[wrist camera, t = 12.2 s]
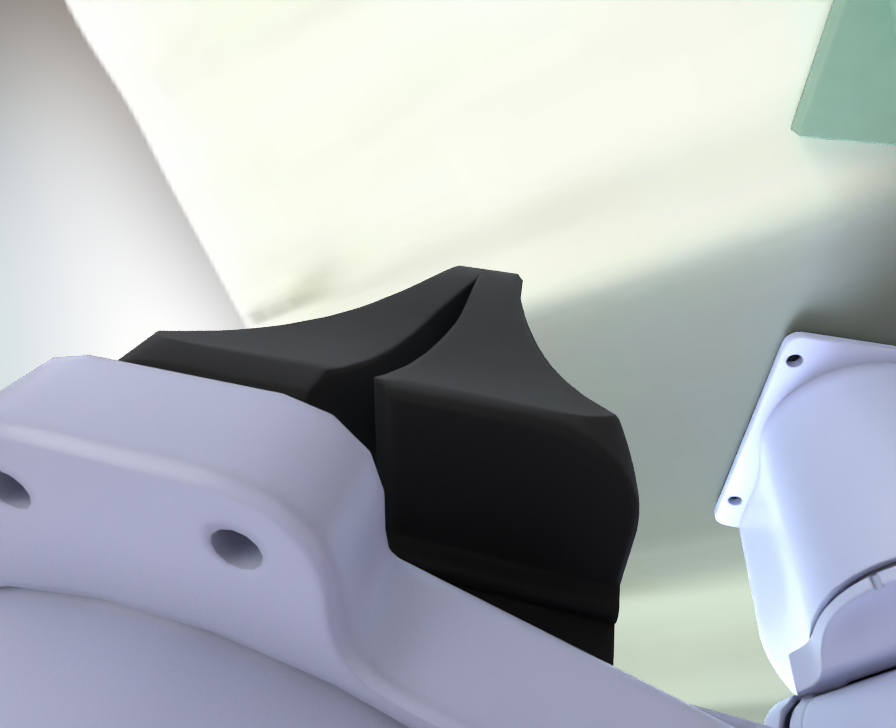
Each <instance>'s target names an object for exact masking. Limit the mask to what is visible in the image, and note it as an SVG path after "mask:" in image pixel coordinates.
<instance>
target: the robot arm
mask: <svg viewBox="0 0 896 728" xmlns="http://www.w3.org/2000/svg"><path fill="white" fill-rule="evenodd" d="M522 282H523V280H522V279H521V278H520V276H519V275H518V274H514V273H507V272H500V271H493V270H486V269H479V268H472V267H465V266H456V267H453V268H451V269H448V270H446V271H444V272H442V273H440V274H437V275H435V276H433V277H431V278H429V279H427V280H425V281H423V282H421V283H419V284H416V285H414V286H412V287H410V288H408V289H406V290H403V291H401V292H399V293H396V294H394V295H391V296H389V297H386V298H384V299H381V300H379V301H376V302H374V303H371V304H369V305H366V306H363V307H360V308H357V309H353V310H350V311H346V312H343V313H339V314H336V315H332V316H328V317H323V318H318V319H313V320H307V321H302V322H297V323H292V324H286V325H279V326H271V327H262V328H252V329H239V330H223V331H158V332H156V333H155V334H154V335H152V336H151V337H149V338H148V339H147V340H145V341H144V342H142V343H141V344H140V345H138V346H137V347H136V348H135V349H133V350H131V351H130V352H129V353H127V354H126V355H125V356H123V357H122V358H121V359H119V360H118V361H117V360H112V359H107V358H102V357H97V356H92V355H82V356H69V357H56V358H52V359H50V360H49V361H47V362H46V363H44V364H42V365H41V366H39V367H38V368H36V369H34V370H33V371H31V372H30V373H28V374H26V375H25V376H23V377H22V378H20V379H18V380H17V381H15V382H14V383H12V384H10V385H9V386H7V387H6V388H4V389H2V390H1V391H0V728H896V346H893V345H886V344H879V343H873V342H866V341H860V340H853V339H846V338H840V337H833V336H826V335H820V334H813V333H806V332H795V333H791V334H789V335H788V336H787V337H785V339H784V340H783V342H782V344H781V346H780V349H779V351H778V354H777V356H776V359H775V361H774V364H773V366H772V369H771V371H770V374H769V376H768V379H767V381H766V383H765V386H764V388H763V391H762V393H761V396H760V398H759V401H758V403H757V406H756V408H755V411H754V413H753V416H752V418H751V421H750V423H749V426H748V428H747V430H746V433H745V435H744V438H743V440H742V443H741V445H740V448H739V450H738V453H737V455H736V458H735V460H734V463H733V465H732V468H731V470H730V472H729V475H728V477H727V480H726V482H725V485H724V487H723V490H722V492H721V495H720V497H719V500H718V502H717V505H716V507H715V511H714V513H715V518H716V520H717V521H718V522H719V523H722V524H724V525H729V526H734V527H738V528H739V530H740V535H741V540H742V545H743V550H744V555H745V561H746V566H747V571H748V576H749V581H750V587H751V592H752V597H753V602H754V607H755V613H756V618H757V623H758V628H759V633H760V638H761V641H762V644H763V647H764V650H765V652H766V654H767V656H768V658H769V660H770V662H771V664H772V665H773V667H774V669H775V670H776V672H777V673H778V675H779V676H780V677H781V679H782V680H783V681H784V683H785V684H786V685H787V686H788V687H789V689H790V690H791V691H792V692H793V693H794V694H795V695H794V696H791V697H788V698H785V699H782V700H780V701H779V702H778V703H776V704H775V705H774V706H773V707H771V709H770V711H769V712H768V714H767V715H766V718H765V721H764V724H760V723H757V722H753V721H750V720H746V719H742V718H739V717H735V716H731V715H728V714H724V713H720V712H717V711H713V710H709V709H706V708H702V707H698V706H695V705H691V704H688V703H686V702H684V701H682V700H680V699H678V698H676V697H674V696H672V695H670V694H668V693H666V692H664V691H662V690H660V689H658V688H656V687H654V686H652V685H650V684H648V683H646V682H644V681H642V680H640V679H638V678H636V677H634V676H632V675H630V674H628V673H626V672H624V671H622V670H620V669H618V668H616V667H614V666H613V658H614V624H615V623H616V621H617V618H618V613H619V595H620V583H621V580H622V576H623V573H624V570H625V567H626V564H627V560H628V557H629V554H630V551H631V548H632V544H633V541H634V538H635V535H636V532H637V526H638V519H639V496H638V489H637V483H636V477H635V472H634V467H633V463H632V459H631V455H630V451H629V448H628V444H627V441H626V438H625V435H624V432H623V429H622V426H621V423H620V420H619V419H618V417H617V416H616V415H615V414H613V413H612V412H610V411H608V410H607V409H605V408H603V407H602V406H600V405H598V404H597V403H595V402H593V401H592V400H590V399H588V398H587V397H585V396H584V395H582V394H581V393H580V392H579V391H577V390H576V389H575V388H574V387H572V386H571V385H570V384H569V383H567V382H566V381H565V380H564V379H563V378H562V377H561V376H560V375H559V374H558V373H557V372H556V371H555V369H554V368H553V367H552V366H551V365H550V364H549V362H548V361H547V360H546V358H545V357H544V355H543V354H542V352H541V350H540V349H539V347H538V345H537V343H536V342H535V340H534V338H533V335H532V333H531V331H530V328H529V326H528V324H527V321H526V318H525V315H524V311H523V307H522V303H521V290H522ZM796 354H798V355H800V357H799V359H798V360H796V361H790V362H789V361H787V360H786V359H787V358H788V357H789V356H791V355H796ZM732 496H738V497H739V498H736V499H731V498H730V497H732Z"/></svg>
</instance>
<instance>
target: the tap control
mask: <svg viewBox="0 0 896 728" xmlns="http://www.w3.org/2000/svg"><path fill="white" fill-rule="evenodd" d="M791 130H793V131H794V132H795V133H796V134H797V135H798V136H800V137H808V138H819V139H830V140H842V141H853V142H864V143H875V144H887V145H896V0H834V1H833V4H832V7H831V10H830V13H829V16H828V19H827V22H826V25H825V28H824V31H823V34H822V37H821V40H820V43H819V46H818V49H817V52H816V55H815V58H814V61H813V64H812V67H811V70H810V73H809V76H808V78H807V81H806V84H805V87H804V90H803V93H802V96H801V99H800V102H799V105H798V108H797V111H796V114H795V117H794V120H793V123H792V126H791Z"/></svg>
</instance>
